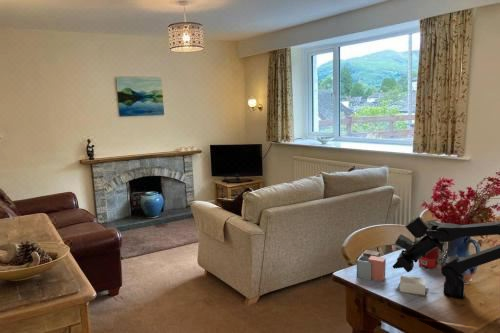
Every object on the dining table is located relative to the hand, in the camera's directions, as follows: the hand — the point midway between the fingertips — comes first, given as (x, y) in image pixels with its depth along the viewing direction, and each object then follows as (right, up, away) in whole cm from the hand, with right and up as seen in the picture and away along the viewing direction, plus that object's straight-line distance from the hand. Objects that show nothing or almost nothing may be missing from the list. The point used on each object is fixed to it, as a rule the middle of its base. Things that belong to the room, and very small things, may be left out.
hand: (393, 267), depth 165 cm
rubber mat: (+5, -8, -6) cm, 11 cm away
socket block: (-8, -5, +9) cm, 13 cm away
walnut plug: (-6, -5, +11) cm, 13 cm away
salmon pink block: (-5, -6, +5) cm, 9 cm away
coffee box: (+30, -1, +27) cm, 40 cm away
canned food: (+21, -3, +16) cm, 27 cm away
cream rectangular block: (+5, -7, -7) cm, 11 cm away
